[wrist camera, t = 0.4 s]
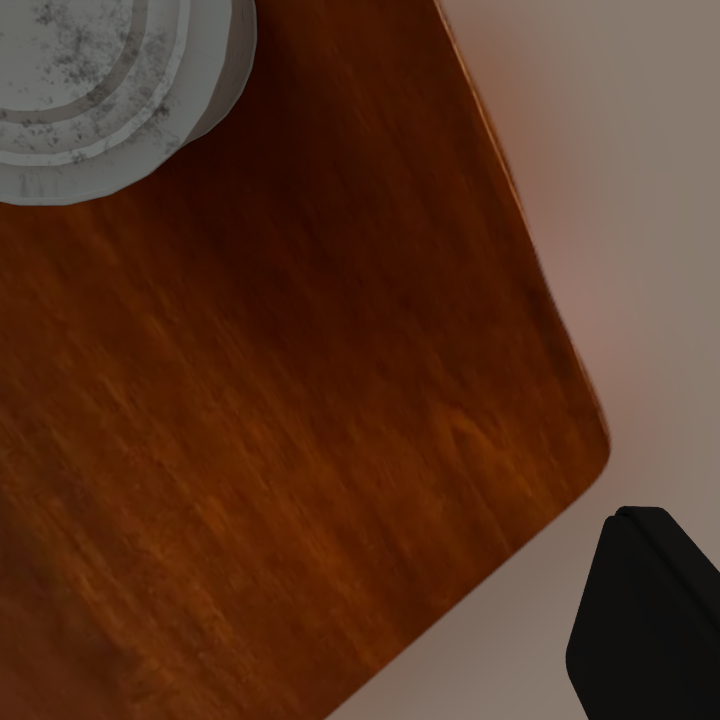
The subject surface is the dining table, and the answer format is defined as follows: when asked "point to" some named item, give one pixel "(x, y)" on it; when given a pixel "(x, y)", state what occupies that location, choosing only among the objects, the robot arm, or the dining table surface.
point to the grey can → (112, 89)
